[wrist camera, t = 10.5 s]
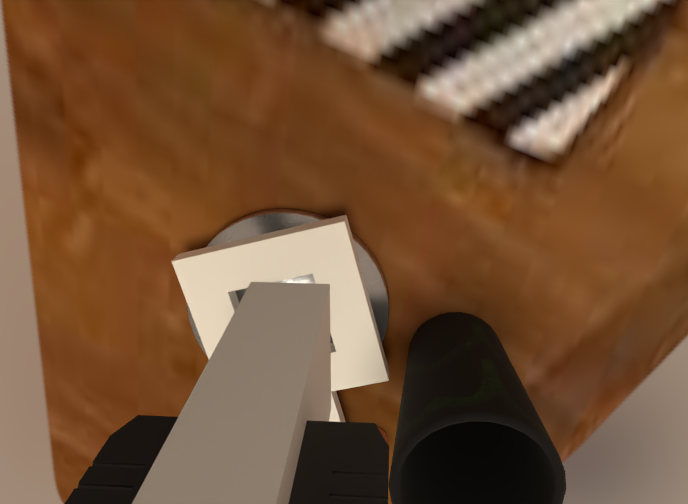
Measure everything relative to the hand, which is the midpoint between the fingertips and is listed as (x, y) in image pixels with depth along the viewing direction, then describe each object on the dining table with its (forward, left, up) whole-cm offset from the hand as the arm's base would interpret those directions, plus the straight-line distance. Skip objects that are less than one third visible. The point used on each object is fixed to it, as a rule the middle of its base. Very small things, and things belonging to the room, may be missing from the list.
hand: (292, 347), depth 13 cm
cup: (+14, -6, -25) cm, 29 cm away
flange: (+8, -12, -23) cm, 27 cm away
